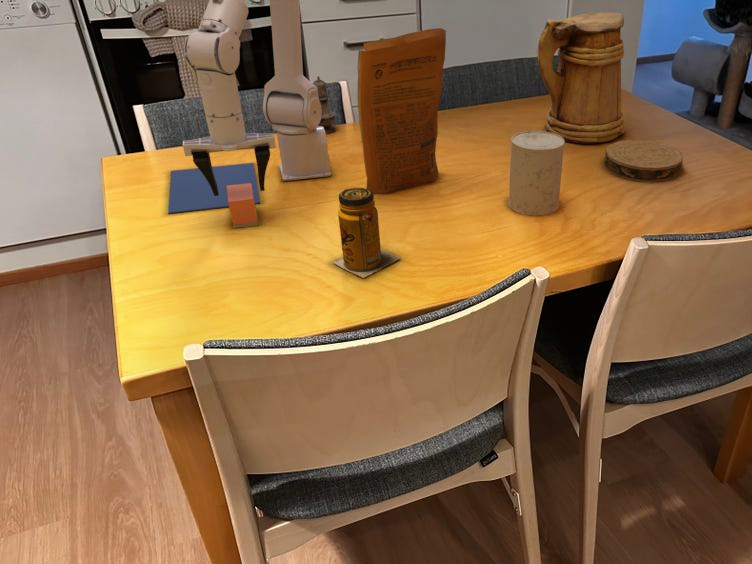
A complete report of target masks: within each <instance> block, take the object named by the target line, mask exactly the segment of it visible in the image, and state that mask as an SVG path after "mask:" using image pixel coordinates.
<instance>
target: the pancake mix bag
mask: <svg viewBox="0 0 752 564" xmlns="http://www.w3.org/2000/svg"><path fill="white" fill-rule="evenodd" d="M446 43H447V31H446V29H444V28H442V27H437V28H429V29H424V30H418V31H413V32H409V33H405V34H402V35H398V36H395V37H390V38H384V39H379V40H371V41H368V42H364V43H363V47H364V49H359V50H358V56H357V67H356V68H357V95H356V96H357V111H358V123H359V129H360V138H361V139H360V140H361V145H362V154H363V155H362V156H363V162H364V167H365V169H364V170H365V175H366V187H365V189H369V190H370V191H372V193H373V194H378V195H385V194H391V193H392V194H393V193H395V192H400V191H404V190H407V189H410V188H414V187H418V186H422V185H427V184H431V183H434V182H435V181H437V180H438V178H439V174H440V173H439V168H438V163H437V158H436V151H437V150H436V149H437V141H438V135H439V134H438V129H439V127H438V126H439V125H438V124H439V123H438V118H439V117H438V116H439V115H438V112H439V106H440V101H441V95H442V88H443V75H444V66H445V59H446V46H447V44H446Z"/></svg>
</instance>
